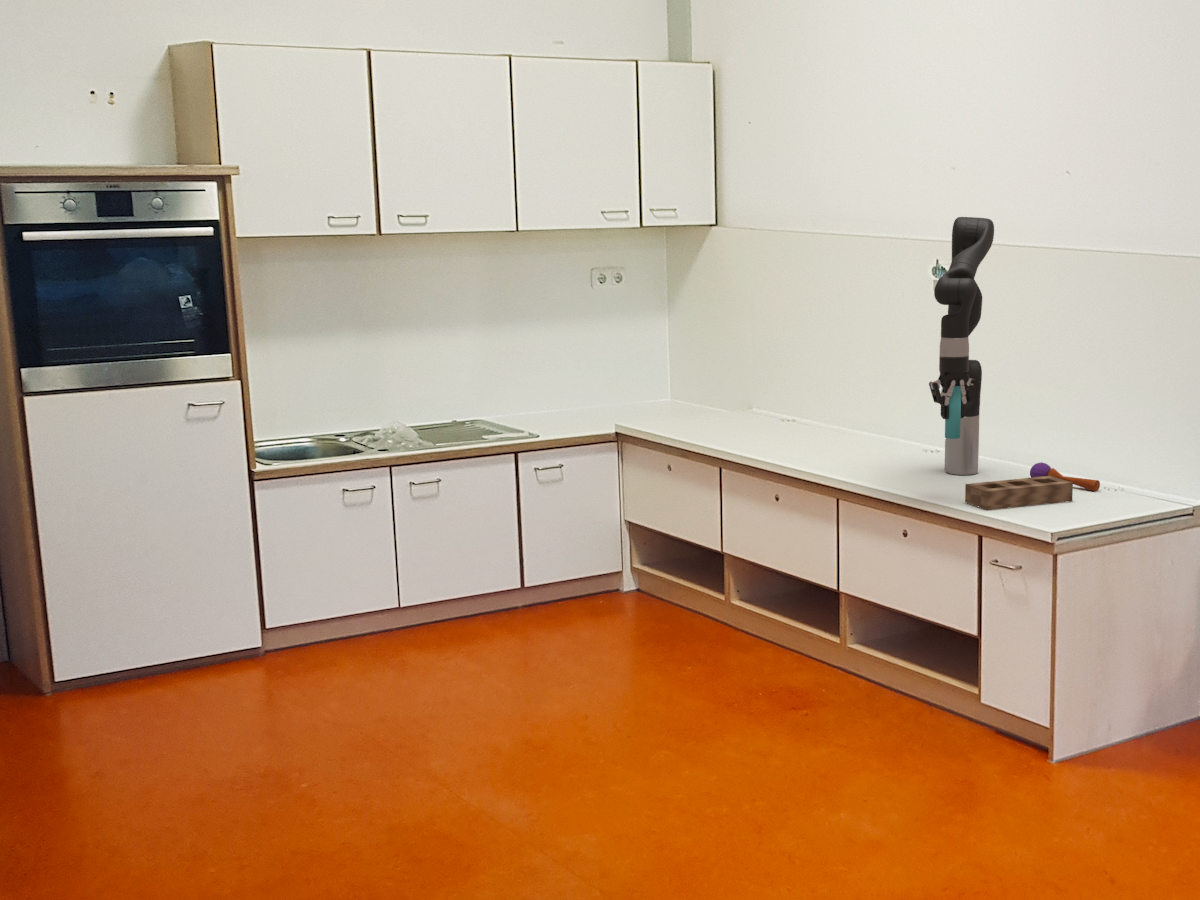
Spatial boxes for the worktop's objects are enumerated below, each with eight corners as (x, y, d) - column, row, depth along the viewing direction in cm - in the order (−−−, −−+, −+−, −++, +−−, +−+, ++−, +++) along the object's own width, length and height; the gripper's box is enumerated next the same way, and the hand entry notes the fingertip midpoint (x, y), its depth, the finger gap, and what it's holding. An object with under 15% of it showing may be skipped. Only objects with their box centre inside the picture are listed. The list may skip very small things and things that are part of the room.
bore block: (986, 510, 346) (986, 491, 345) (965, 502, 355) (965, 484, 354) (1072, 501, 353) (1072, 482, 352) (1049, 493, 363) (1049, 475, 362)
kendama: (1090, 479, 361) (1025, 464, 376) (1090, 499, 363) (1025, 484, 378) (1102, 472, 365) (1037, 457, 380) (1102, 492, 367) (1037, 477, 382)
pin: (941, 436, 358) (943, 385, 355) (955, 435, 359) (956, 384, 357) (949, 439, 354) (951, 387, 352) (963, 438, 355) (964, 386, 353)
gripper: (969, 351, 358) (968, 414, 361) (922, 354, 354) (921, 418, 357) (985, 354, 351) (984, 418, 354) (937, 357, 347) (936, 422, 350)
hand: (952, 417), depth 356 cm, fingers closed on pin, 4 cm apart
